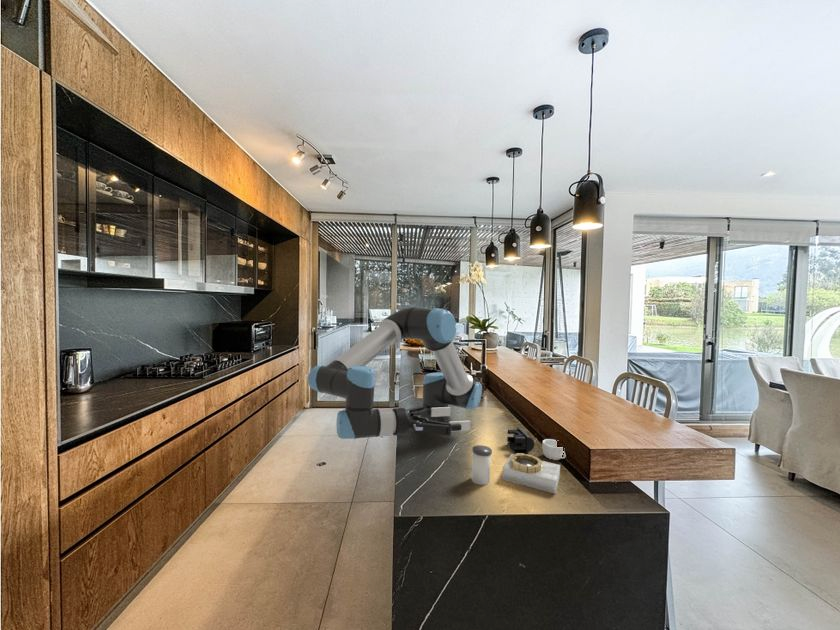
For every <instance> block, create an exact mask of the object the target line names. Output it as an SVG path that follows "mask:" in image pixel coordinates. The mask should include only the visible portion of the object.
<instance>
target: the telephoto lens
mask: <svg viewBox="0 0 840 630" xmlns="http://www.w3.org/2000/svg"><path fill="white" fill-rule="evenodd" d="M492 451H493V450H492V448H491V447H489V446H486V445H482V444H481V445H480V444H479V445H474V446H472V461H471V462H472V464H471V482H473V483H474V484H477V485H480V486H481V485H482V486H486V485H488V484H490V480H491V479H490V478H491V459H492V458H491V457H492V454H493V452H492Z"/></svg>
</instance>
